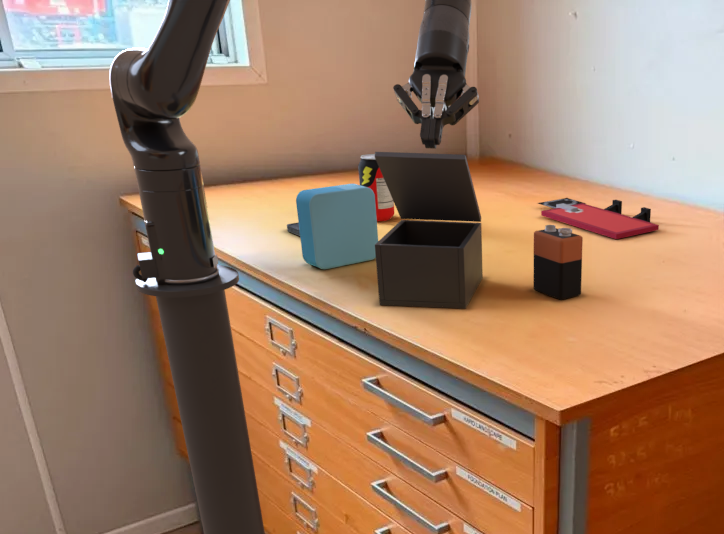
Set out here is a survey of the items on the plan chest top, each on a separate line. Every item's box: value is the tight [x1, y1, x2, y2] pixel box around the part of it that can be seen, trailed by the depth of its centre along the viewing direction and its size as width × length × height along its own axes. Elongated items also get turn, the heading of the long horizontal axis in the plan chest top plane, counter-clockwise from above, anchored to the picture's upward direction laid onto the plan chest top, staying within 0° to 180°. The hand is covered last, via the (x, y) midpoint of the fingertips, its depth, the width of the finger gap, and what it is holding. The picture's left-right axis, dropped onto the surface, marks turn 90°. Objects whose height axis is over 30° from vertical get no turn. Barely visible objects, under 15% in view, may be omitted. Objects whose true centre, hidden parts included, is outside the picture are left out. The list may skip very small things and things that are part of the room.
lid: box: [374, 151, 482, 223], centre depth 127 cm, size 16×13×1 cm
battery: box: [533, 224, 584, 301], centre depth 131 cm, size 4×7×10 cm, turn 41°
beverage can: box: [357, 153, 395, 222], centre depth 171 cm, size 6×6×12 cm
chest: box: [375, 219, 484, 310], centre depth 131 cm, size 16×13×9 cm
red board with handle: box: [537, 197, 660, 240], centre depth 177 cm, size 30×3×15 cm
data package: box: [295, 183, 379, 270], centre depth 143 cm, size 12×4×12 cm, turn 135°
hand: (429, 144), depth 125 cm, fingers closed
